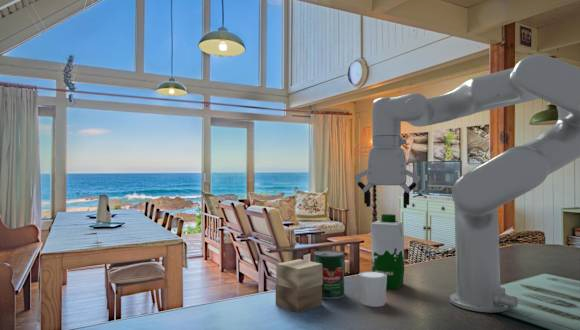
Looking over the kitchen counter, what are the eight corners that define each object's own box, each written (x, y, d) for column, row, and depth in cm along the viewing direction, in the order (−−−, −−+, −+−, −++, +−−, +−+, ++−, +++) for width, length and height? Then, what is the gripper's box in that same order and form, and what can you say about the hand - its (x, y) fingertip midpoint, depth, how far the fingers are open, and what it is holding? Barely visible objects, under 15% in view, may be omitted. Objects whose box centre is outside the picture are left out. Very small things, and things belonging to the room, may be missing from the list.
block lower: (322, 305, 90) (321, 284, 91) (298, 313, 85) (298, 291, 85) (299, 298, 96) (299, 278, 97) (275, 305, 91) (275, 284, 91)
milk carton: (406, 283, 109) (405, 214, 110) (400, 291, 101) (399, 217, 102) (377, 279, 113) (375, 213, 114) (368, 287, 105) (367, 216, 106)
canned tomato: (332, 288, 104) (332, 249, 105) (350, 296, 97) (350, 253, 98) (308, 293, 100) (308, 251, 101) (325, 301, 93) (325, 256, 94)
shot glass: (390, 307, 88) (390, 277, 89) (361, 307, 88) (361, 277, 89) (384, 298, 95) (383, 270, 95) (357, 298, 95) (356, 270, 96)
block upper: (322, 284, 91) (322, 263, 91) (299, 291, 85) (298, 269, 86) (299, 278, 97) (299, 259, 97) (276, 284, 91) (276, 263, 92)
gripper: (420, 144, 102) (420, 207, 101) (356, 145, 108) (356, 205, 107) (420, 141, 95) (420, 209, 94) (352, 143, 101) (352, 207, 100)
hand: (386, 207), depth 101 cm, fingers open, 9 cm apart
